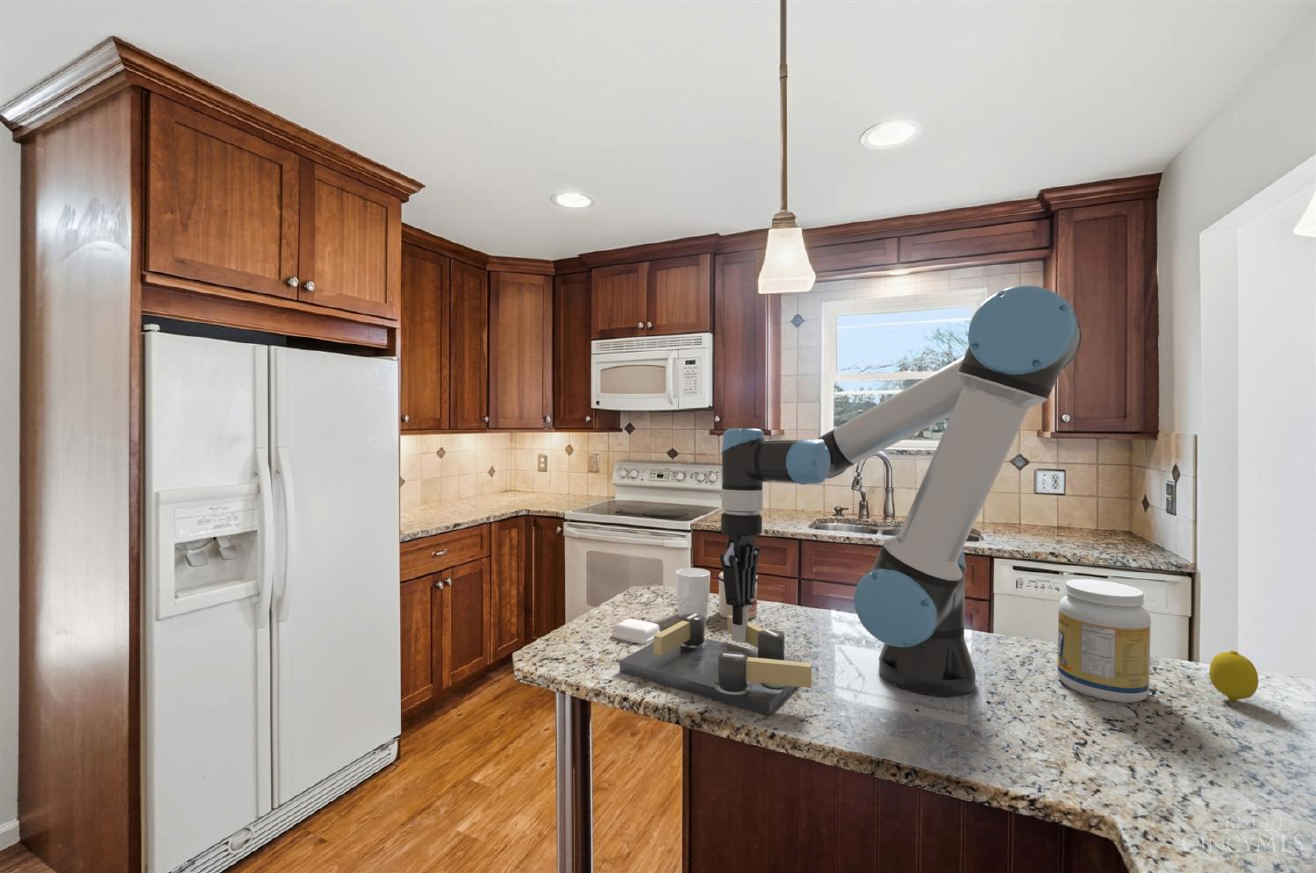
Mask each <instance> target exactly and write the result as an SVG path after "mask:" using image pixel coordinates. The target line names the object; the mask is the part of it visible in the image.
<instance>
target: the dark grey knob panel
mask: <svg viewBox="0 0 1316 873" xmlns="http://www.w3.org/2000/svg"><path fill="white" fill-rule="evenodd" d="M727 651H735V652H740V653H743V654H745V655H747V657H753V658H758V649H757V650H756V649H753V648H752V649H751V648H748V647H743V646H739V645H735V644H732V643H726V642H721V641H717V640H713V639H709V638H705V637H704V642H703V643H702V644H698V645H689V644H684V643H682V644H681V645H679V646H677V647H676V648H674V649H672V650H671V651H669V652H667V653H665V654H664V655H662V656H660V655H656V654H654V641H653V642H651V643H649V644H647V645H646V646H644V647H642V648H640V649H638V650H637V651H635V652H633V653H631V654H629V655H627V656H626V657H624V658H621V659H620V660H619V673H622V674H624V675H629V676H631V677H635V678H639V679H640V680H641V679H642V680H646V681H649V682H652V683H656V684H658V685H662V686H666V687H669V688H672V689H675V690H678V691H683V692H685V693H688V694H691V695H692V694H693V695H695V696H699V697H703V698H706V699H709V700H713V701H717V702H719V703H723V704H727V705H729V706H730V705H731V706H734V707H736V708H740V709H743V710H746V711H750V712H752V713H753V712H754V713H757V714H760V715H763V716H767V717H770V716H771V715H772V714H773V713H774V712H775V711H776V710H777V709H778V708H779V707H780V706H781V705H782V704H783V703H784V701H786V699H788V698H789V697H790V696H791V694H793V693H794V692H795V691H796V689H797V688H798V687H797V686H786V687H783V688H771V687H768V686H765V685H764V684H763V683H759V682H749V681H748V686H747V688H746V689H744V690H740V691H729V690H725V689H723V688H721V687H720V686H719V685H718V656H719V654H720V653H723V652H727ZM784 660H785V661H795V662H806V663H810V662H809V661H804V660H800V659H795V658H791V657H786V656H784Z"/></svg>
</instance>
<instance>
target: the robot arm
mask: <svg viewBox="0 0 1316 873" xmlns="http://www.w3.org/2000/svg"><path fill="white" fill-rule="evenodd" d="M1074 309H1075V308H1074V307H1073V306H1072V305H1071V303H1070V302H1069V301H1068V300H1067V299H1066V298H1065V297H1064V296H1062V295H1060V294H1059V293H1057V292H1055V291H1052V290H1051V289H1049V288H1046V287H1042V286H1038V285H1016V286H1012V287H1008V288H1005V289H1003V290H1000V291H999V292H997V293H995V294H992V295H991V296H990V297H989V298H987V299H986V300H985V301H984V302H982V303H981V305H980V306H979V307H978V308H977V309H976V311H975V312H974V314H973V316H972V318H971V320H970V323H969V326H968V332H967V341H968V347H967V349H966V351H965V354H964V355H963V357H961V358H959V359H957V360H955V361H953V362H951V363H950V364H948V365H946V366H944V367H942V368H940V369H938V370H937V371H935V372H934V373H932V374H930V375H928V376H925V378H923V379H921V380H919V381H917V382H916V383H914V384H912V385H910V386H909V387H906V388H905V389H903V390H901V391H900V392H898V393H896V394H895V395H893V396H890V397H889V398H887V399H886V400H884V401H882V402H880V403H878V404H876V405H875V406H873V407H870V408H869V409H867V410H865V411H864V412H862V413H860V414H859V415H856V416H855V417H853V418H852V419H849V420H848V421H846V422H844V423H842V424H841V425H839V426H837V427H835V428H834V429H832V430H830V431H828V432H826V433H825V434H823V435H821V436H819V437H818V438H812V439H765V437H764V436H765V434H764V432H763V430H762V429H759V428H728V429H726V430H725V431H724V432H723V435H722V436H723V437H722V445H721V446H722V447H721V448H722V449H721V453H720V454H721V476H722V477H721V479H722V480H721V481H722V482H721V493H720V494H719V496H720V498H721V510H722V511H724V512H722V514H721V515H720V531H721V533H722V534H724V535H727V543H726V553H721V554H720V555H719V561H720V563H721V566H722V572H723V577H724V587H725V597H726V603H727V605H732V635H731V641H732V642H738V643H742V644H746V642H748V622H749V619H748V606H747V605H753V604H754V601H750V599H753V598H754V591H755V582H756V575H757V571H758V564H759V563H758V562H759V558H760V557H759V556H760V554H761V547H760V546H757V545H755V543H756V541H755V536H759V535H761V534H762V533H763V516H762V514H761V513H760V512H762V511H763V508H764V507H763V502H764V499H763V492H764V490H763V487H764V486H763V484H764V482H775V483H788V484H799V485H803V486H805V485H819V484H822V483H824V482H825V480H826V479H832V478H834V477H835V478H836V477H838V476H839V475H842V474H843V473H845V471H847V470H848V468H851V467H853V466H854V465H856V464H857V463H859V462H862V461H864V460H866V459H868V458H869V457H872V456H874V455H877V453H879V452H881V451H883V450H886V449H887V448H889V447H892V446H893V445H895V444H897V443H899V442H901V441H903V440H905V439H907V438H910V437H912V436H914V435H915V434H917V433H919V432H922V431H923V430H926V429H927V428H928V427H931V426H933V425H934V424H937V423H939V422H941V421H943V420H945V419H947V418H949V419H948V422H947V424H946V426H945V428H944V431H943V433H942V435H941V438H940V440H939V442H938V445H937V447H936V449H935V451H934V453H933V456H932V458H931V460H930V463H929V465H928V468H927V469H926V472H925V474H924V476H923V478H922V480H921V483H920V485H919V488H918V489H917V493H916V494H915V497H914V499H913V502H912V504H911V505H910V508H909V510H908V512H907V514H906V517H905V519H904V521H903V524H902V526H901V529H900V530H899V533H898V534H897V535H893V536H891V537H889V538H885V539H884V541H883V543H882V545H881V548H880V549H879V552H878V554H877V556H876V558H875V560H874V563H873V565H872V568H871V570H870V571H868V572H866V573H865V574H864V575H863V576H862V577H861V579H860V580H859V581H858V583H857V585H856V587H855V589H854V594H853V606H854V610H855V613H856V615H857V618H858V619H859V622H860V623H861V625H862V626H863V628H864V629H865V630H866V631H867V632H868V633H869V634H870V635H871V636H873V638H875V639H877V640H878V641H880V642H881V643H883V645H882V646H883V647H882V649H881V652H880V655H879V656H878V657H879V658H878V673H879V674H880V675H881V677H882V678H884V679H885V680H886V681H887V682H889V683H891V684H893V685H894V686H897V687H898V688H901V689H904V690H907V691H910V692H913V693H918V694H922V695H928V696H937V697H958V696H963V695H968V694H970V693H972V692H973V691H974V690H975V689H976V676H977V674H976V670H975V668H974V664H973V661H972V658H971V654H970V652H969V649H968V645H967V643H966V642H967V641H966V640H965V639H966V638H965V608H966V605H965V604H966V603H965V602H966V601H965V599H966V598H965V596H966V595H965V594H966V571H967V566H966V559H965V553H964V552H963V551H962V550H963V549H964V547H965V545H966V542H967V540H968V538H969V535H970V533H971V531H972V530H973V528H974V526H975V523H976V521H977V519H978V516H979V515H980V512H981V511H982V508H983V506H984V504H985V502H986V499H987V497H988V496H989V494H990V491H991V489H992V487H993V485H994V483H995V481H996V478H997V477H998V475H999V472H1000V470H1001V468H1002V466H1003V464H1004V462H1005V459H1006V458H1007V455H1008V453H1009V451H1010V449H1011V447H1012V445H1013V443H1014V441H1015V439H1016V437H1017V434H1018V433H1019V430H1020V428H1021V426H1022V425H1023V421H1025V420H1024V419H1025V417H1026V415H1027V414H1028V411H1029V409H1030V410H1031V409H1032V408H1033V407H1035V406H1037V405H1040V404H1043V403H1045V402H1047V401H1048V399H1049V397H1050V395H1051V393H1052V391H1053V388H1054V386H1056V385H1055V384H1056V382H1057V380H1058V378H1059V376H1060V374H1061V372H1062V371H1063V370H1065V369H1066V368H1067V367H1068V366H1069V365H1070V364H1071V363H1072V362H1073V360H1074V359H1075V358H1076V356H1077V354H1078V353H1079V351H1080V347H1081V343H1082V329H1081V326H1080V322H1079V320H1078V319H1077V318H1078V317H1077V315H1076V314H1077V313H1076V312H1075V310H1074Z"/></svg>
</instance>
